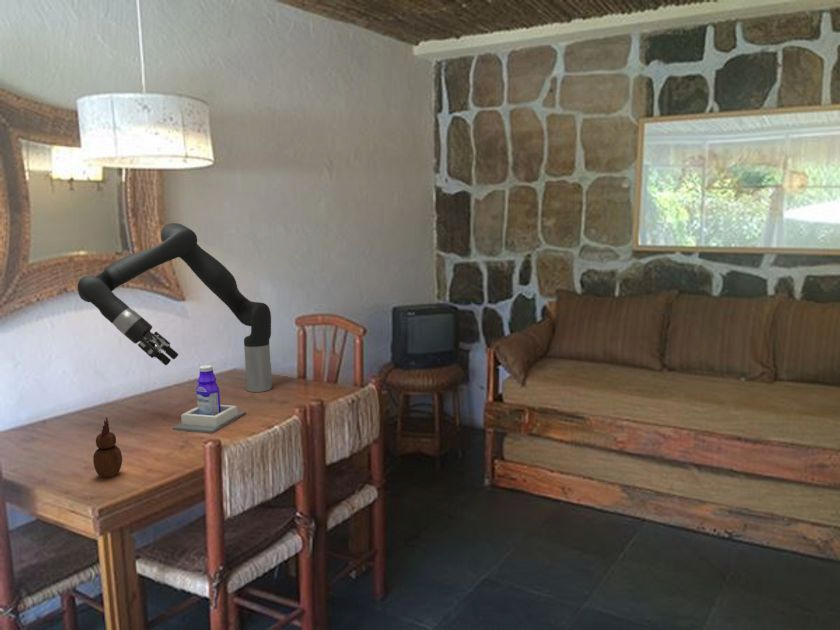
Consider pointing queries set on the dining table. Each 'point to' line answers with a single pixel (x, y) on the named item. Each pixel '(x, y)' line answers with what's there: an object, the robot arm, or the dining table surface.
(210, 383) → the bottle
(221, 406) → the bottle stand
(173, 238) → the robot arm
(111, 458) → the wooden figurine
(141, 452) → the dining table surface
